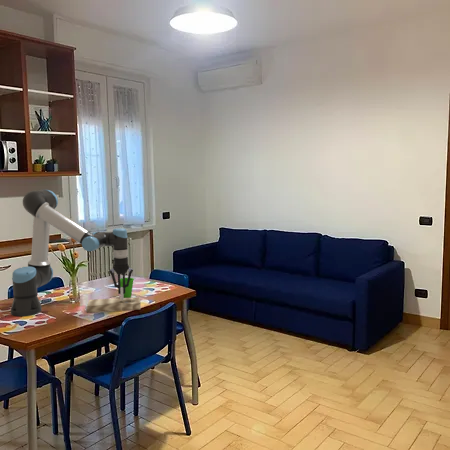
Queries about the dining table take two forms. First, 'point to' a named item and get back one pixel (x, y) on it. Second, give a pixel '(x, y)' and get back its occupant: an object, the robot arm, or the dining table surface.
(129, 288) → the cup
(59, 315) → the dining table surface
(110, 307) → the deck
